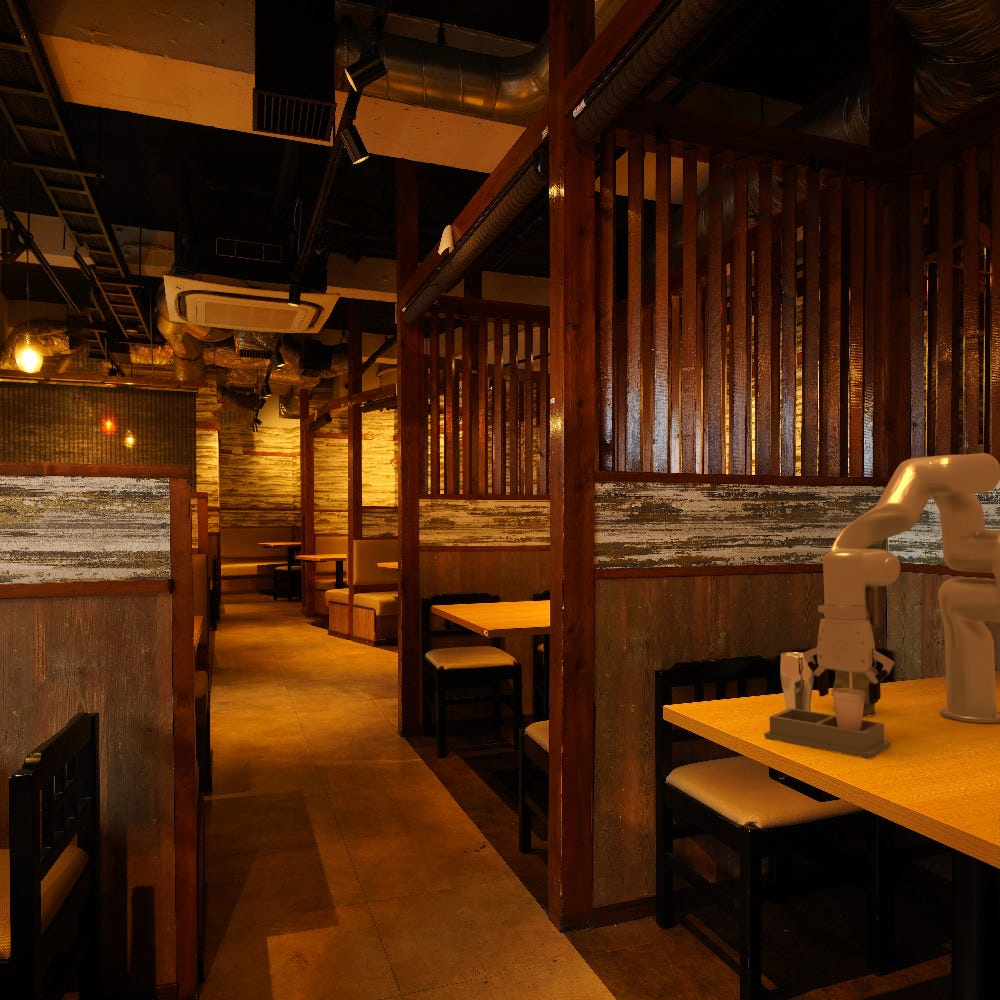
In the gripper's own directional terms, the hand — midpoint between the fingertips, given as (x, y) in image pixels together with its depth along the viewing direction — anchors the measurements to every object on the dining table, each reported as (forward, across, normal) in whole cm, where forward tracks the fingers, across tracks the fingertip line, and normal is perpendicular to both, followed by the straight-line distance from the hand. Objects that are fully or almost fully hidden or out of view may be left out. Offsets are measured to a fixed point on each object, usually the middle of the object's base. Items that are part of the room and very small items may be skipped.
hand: (848, 698), depth 150 cm
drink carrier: (+9, -5, 0) cm, 10 cm away
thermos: (+10, -10, +29) cm, 32 cm away
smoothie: (+8, 0, 0) cm, 8 cm away
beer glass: (+10, -16, +12) cm, 22 cm away
